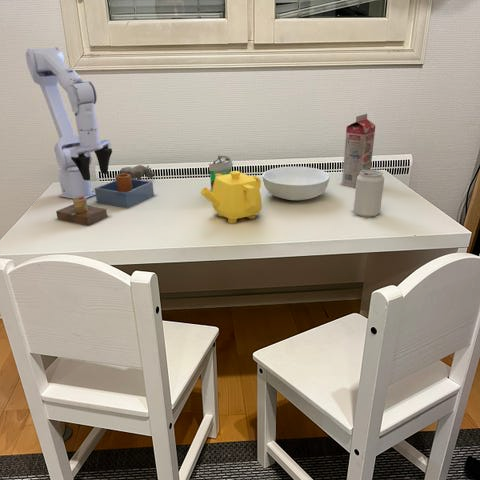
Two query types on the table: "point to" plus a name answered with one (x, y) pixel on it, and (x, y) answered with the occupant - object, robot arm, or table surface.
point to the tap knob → (80, 205)
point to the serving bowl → (295, 182)
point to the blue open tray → (124, 193)
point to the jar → (123, 182)
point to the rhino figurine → (137, 172)
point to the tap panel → (82, 215)
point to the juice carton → (358, 149)
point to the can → (368, 193)
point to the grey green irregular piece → (220, 168)
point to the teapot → (235, 195)
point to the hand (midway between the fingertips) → (95, 176)
